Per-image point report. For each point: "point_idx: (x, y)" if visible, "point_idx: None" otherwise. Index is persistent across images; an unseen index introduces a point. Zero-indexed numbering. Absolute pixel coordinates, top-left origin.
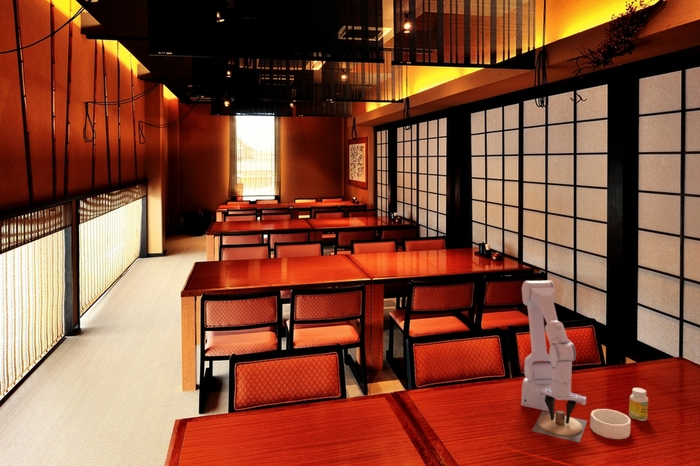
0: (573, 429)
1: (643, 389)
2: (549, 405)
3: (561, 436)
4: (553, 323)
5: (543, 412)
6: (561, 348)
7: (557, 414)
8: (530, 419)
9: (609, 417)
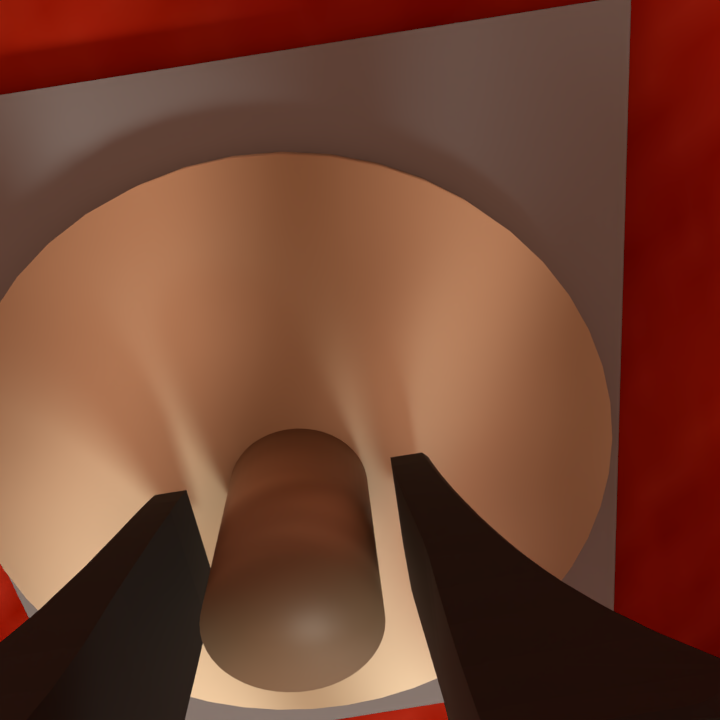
0: (53, 434)
1: None
2: (537, 627)
3: (125, 138)
4: None
5: None
6: None
7: (317, 544)
8: (705, 417)
9: None
